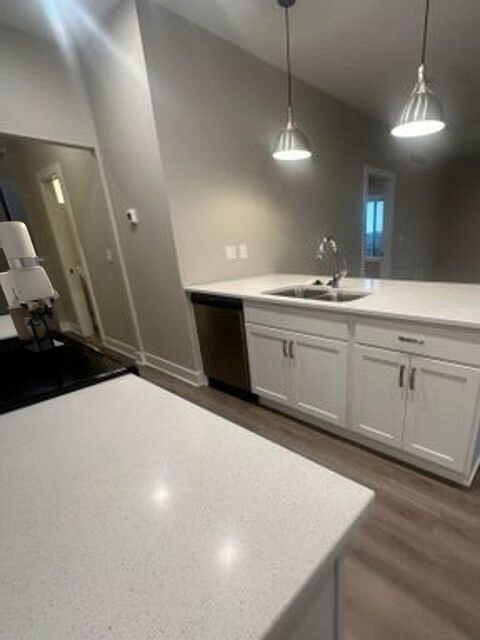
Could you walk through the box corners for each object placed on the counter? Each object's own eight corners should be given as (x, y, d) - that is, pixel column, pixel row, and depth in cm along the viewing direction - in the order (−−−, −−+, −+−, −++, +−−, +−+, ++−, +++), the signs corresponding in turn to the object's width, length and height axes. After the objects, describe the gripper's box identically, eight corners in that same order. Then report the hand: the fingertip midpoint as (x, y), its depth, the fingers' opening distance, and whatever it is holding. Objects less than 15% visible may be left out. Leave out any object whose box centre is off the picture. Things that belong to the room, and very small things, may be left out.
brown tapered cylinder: (52, 337, 137) (39, 300, 131) (22, 344, 130) (7, 305, 125) (47, 333, 143) (34, 297, 137) (18, 339, 137) (3, 302, 131)
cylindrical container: (41, 329, 149) (20, 270, 140) (40, 333, 144) (18, 272, 134) (21, 332, 146) (-2, 272, 136) (19, 336, 140) (-5, 274, 131)
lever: (49, 313, 114) (44, 304, 114) (38, 315, 112) (33, 306, 112) (42, 326, 123) (38, 317, 123) (32, 328, 121) (27, 320, 121)
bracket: (65, 347, 125) (55, 315, 120) (37, 355, 118) (24, 322, 113) (52, 341, 131) (42, 311, 127) (25, 349, 125) (13, 317, 120)
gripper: (48, 260, 116) (65, 313, 123) (-13, 267, 104) (10, 325, 111) (57, 260, 112) (74, 315, 119) (-5, 267, 100) (18, 328, 107)
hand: (43, 319), depth 115 cm, fingers closed on lever, 3 cm apart
